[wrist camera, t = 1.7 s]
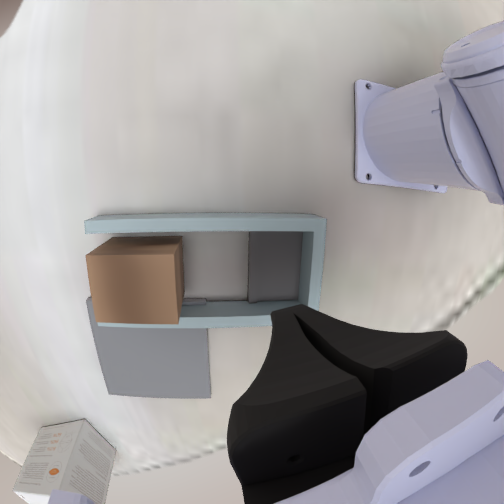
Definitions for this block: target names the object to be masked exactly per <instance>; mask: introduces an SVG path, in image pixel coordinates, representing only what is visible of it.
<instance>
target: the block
mask: <svg viewBox="0 0 504 504" xmlns="http://www.w3.org/2000/svg"><path fill="white" fill-rule="evenodd" d="M86 262H87V270H88V278H89V285H90V291H91V297H92V303H93V309H94V314H95V320H96V322H100V323H124V324H179V319H180V313H181V308H182V302H183V297H184V292H185V291H184V272H183V244H182V236H151V237H112V238H111V239H109V240H108V241H106V242H105V243H103V244H102V245H100V246H99V247H97V248H96V249H94V250H93V251H91V252H90V253H88V254H87V255H86Z"/></svg>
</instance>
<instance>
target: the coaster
mask: <svg viewBox="0 0 504 504" xmlns="http://www.w3.org/2000/svg"><path fill="white" fill-rule="evenodd" d="M86 303H87V308H88V314H89V319H90V324H91V328H92V333H93V337H94V342H95V346H96V350H97V354H98V358H99V362H100V365H101V369H102V373H103V376H104V380H105V383H106V386H107V389H108V393H109V394H111V395H122V396H134V397H151V398H211V390H210V376H209V359H208V341H207V328H131V327H107V326H98V323H97V322H96V320H95V314H94V309H93V303H92V297H89V298H88V299H87V300H86ZM182 305H206V298H205V299H183V302H182Z"/></svg>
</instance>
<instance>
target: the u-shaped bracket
mask: <svg viewBox="0 0 504 504" xmlns="http://www.w3.org/2000/svg"><path fill="white" fill-rule="evenodd" d="M84 223H85V234H93V233H132V232H193V231H249V259H248V301H218V302H206V305H182V308H181V313H180V319H179V324H124V323H100V322H97V323H98V326H107V327H131V328H233V327H258V326H272V321H271V316H270V314H271V313H272V311H275V310H279V309H283V308H287V307H291V306H295V305H299V304H304V305H306V306H308V307H310V308H312V309H315V310H317V311H319V302H320V293H321V283H322V273H323V262H324V251H325V238H326V224H327V219H325V218H323V217H320V216H317V215H315V214H290V213H162V214H126V215H101V216H96V217H93V218H91V219H88V220H85V221H84Z"/></svg>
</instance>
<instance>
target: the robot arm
mask: <svg viewBox="0 0 504 504" xmlns="http://www.w3.org/2000/svg"><path fill="white" fill-rule="evenodd" d="M441 68H442V70H443V71H444V72H441V73H438V74H435V75H432V76H429V77H426V78H424V79H421V80H418V81H415V82H413V83H410V84H407V85H405V86H402V87H399V88H397V89H396V88H393V87H390V86H386V85H382V84H379V83H375V82H371V81H367V80H363V79H359V80H357V81H356V82H355V110H356V154H355V179H356V180H357V181H358V182H359V183H367V184H377V185H386V186H394V187H402V188H410V189H418V190H425V191H432V192H438V193H445V192H446V191H447V186H448V187H457V188H465V189H473V190H480V191H483V192H484V193H485V194H486V196H487V197H488V200H489V202H490V203H495V204H500V205H504V21H501V22H497V23H495V24H492V25H489V26H487V27H484V28H482V29H480V30H477V31H475V32H473V33H471V34H469V35H467V36H465V37H463V38H462V39H460V40H458V41H456V42H455V43H453V44H452V45H450V46H449V47H448V48H447V49H446V50H445V51H444V54H443V61H442V62H441ZM365 85H368V87H369V89H367V88H366V86H365ZM366 174H369V179H368V180H367V179H366ZM434 185H435V188H434ZM270 316H271V321H272V326H273V328H272V337H271V342H270V346H269V350H268V353H267V356H266V359H265V361H264V363H263V365H262V368H261V370H260V372H259V373H258V375H257V377H256V378H255V380H254V381H253V383H252V384H251V385H250V387H249V388H248V390H247V391H246V392H245V393H244V394H243V395H242V396H241V397H240V398H239V399H238V400H237V401H236V402H235V403H234V404H233V406H232V409H231V414H230V418H229V424H228V431H227V447H228V454H229V459H230V463H231V465H232V467H233V469H234V471H235V473H236V475H237V477H238V479H239V481H240V483H241V485H242V490H243V496H244V502H245V504H504V372H503V371H502V370H501V369H499V368H498V367H497V366H496V365H494V364H493V363H491V362H490V361H489V360H487V361H485V362H482V363H479V364H477V365H474V366H472V367H471V368H469V369H468V370H466V371H465V367H466V362H467V349H466V346H465V345H464V343H463V342H462V341H460V340H459V339H457V338H456V337H455V336H453V335H452V334H450V333H449V332H448V331H446V330H444V331H434V332H424V333H398V332H387V331H379V330H373V329H368V328H364V327H360V326H356V325H352V324H349V323H346V322H343V321H340V320H338V319H335V318H333V317H330V316H328V315H326V314H323V313H321V312H319V311H317V310H315V309H312V308H310V307H308V306H306V305H304V304H299V305H295V306H291V307H287V308H283V309H279V310H275V311H272V313H271V314H270ZM48 504H95V502H94V501H92V500H91V499H90V498H88V497H87V496H84V495H82V494H79V493H74V492H68V491H62V490H57V489H52V492H51V495H50V498H49V501H48Z"/></svg>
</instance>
